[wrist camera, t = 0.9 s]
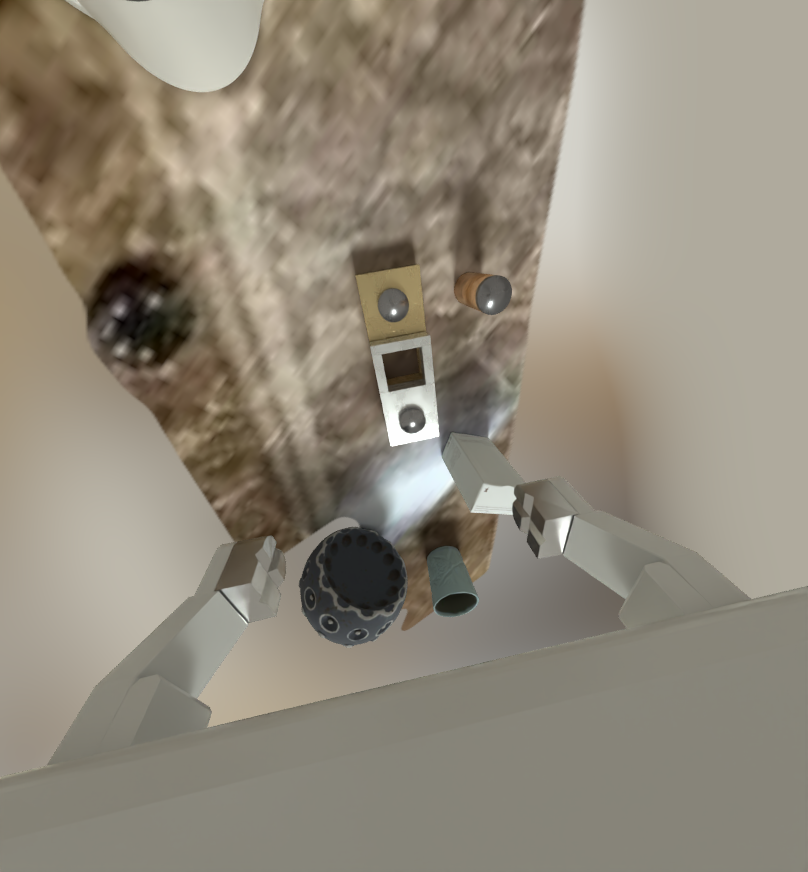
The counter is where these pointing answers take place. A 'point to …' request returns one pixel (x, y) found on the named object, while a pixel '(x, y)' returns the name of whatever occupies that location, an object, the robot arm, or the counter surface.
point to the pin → (483, 292)
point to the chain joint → (395, 331)
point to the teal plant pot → (450, 583)
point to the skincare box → (481, 473)
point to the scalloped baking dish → (353, 586)
